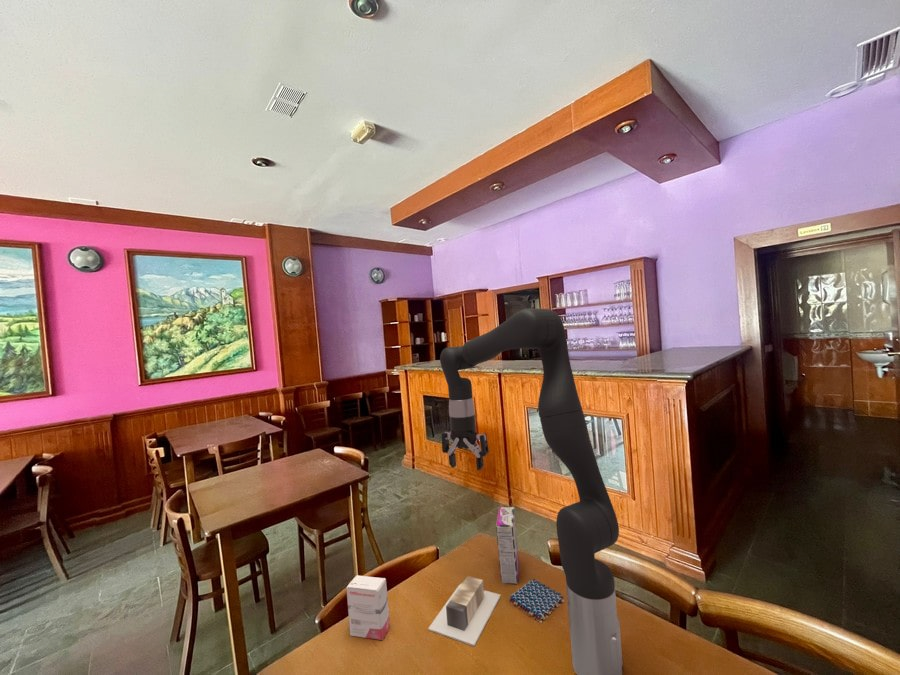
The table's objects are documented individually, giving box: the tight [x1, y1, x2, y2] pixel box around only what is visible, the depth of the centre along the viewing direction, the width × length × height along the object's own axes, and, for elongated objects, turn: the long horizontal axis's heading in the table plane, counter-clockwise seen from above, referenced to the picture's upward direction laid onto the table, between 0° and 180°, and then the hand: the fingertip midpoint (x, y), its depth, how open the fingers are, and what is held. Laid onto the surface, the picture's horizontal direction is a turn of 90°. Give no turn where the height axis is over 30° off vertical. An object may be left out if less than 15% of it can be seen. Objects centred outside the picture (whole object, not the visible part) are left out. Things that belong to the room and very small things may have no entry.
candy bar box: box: [495, 506, 520, 585], centre depth 106 cm, size 11×5×16 cm, turn 168°
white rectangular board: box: [427, 583, 502, 647], centre depth 92 cm, size 12×17×1 cm
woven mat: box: [508, 578, 565, 624], centre depth 93 cm, size 10×11×2 cm
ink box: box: [346, 575, 391, 641], centre depth 88 cm, size 9×5×12 cm, turn 74°
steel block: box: [446, 575, 485, 631], centre depth 92 cm, size 4×4×12 cm
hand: (466, 468), depth 108 cm, fingers open, 8 cm apart
